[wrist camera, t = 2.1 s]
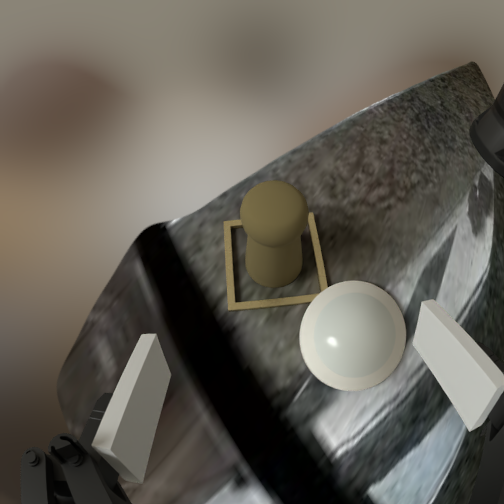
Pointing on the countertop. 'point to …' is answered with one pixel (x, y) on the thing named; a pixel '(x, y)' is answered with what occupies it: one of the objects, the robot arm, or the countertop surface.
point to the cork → (274, 232)
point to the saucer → (352, 336)
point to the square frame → (270, 302)
